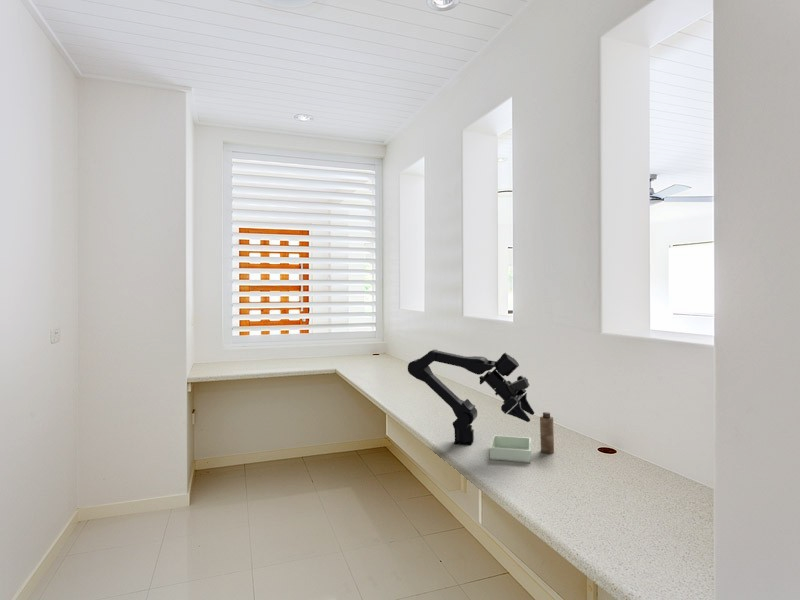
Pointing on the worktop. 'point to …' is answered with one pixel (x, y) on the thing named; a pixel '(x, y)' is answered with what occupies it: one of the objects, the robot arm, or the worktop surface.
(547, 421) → the mill
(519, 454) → the bin
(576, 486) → the worktop surface
